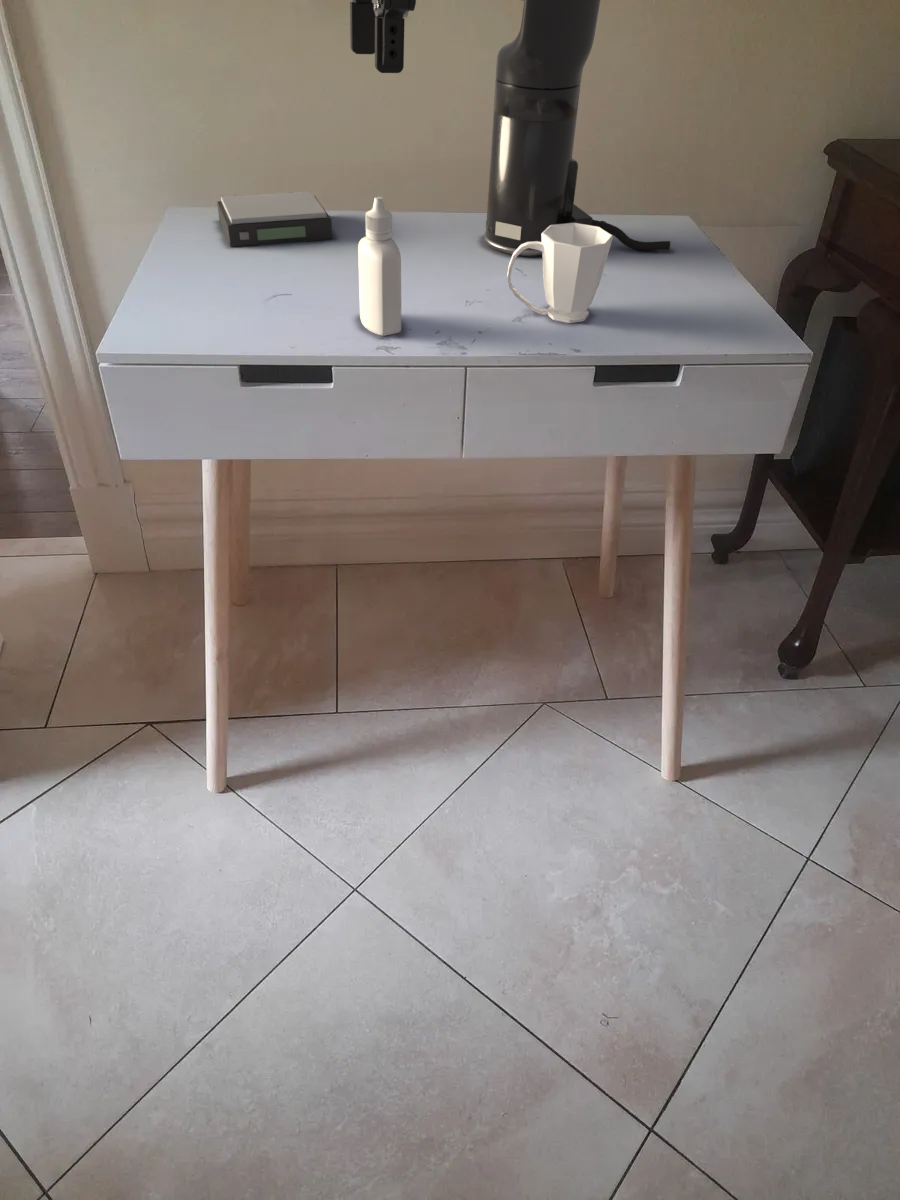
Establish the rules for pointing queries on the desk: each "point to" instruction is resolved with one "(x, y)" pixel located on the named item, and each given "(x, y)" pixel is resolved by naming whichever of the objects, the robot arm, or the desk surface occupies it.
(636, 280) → the desk surface
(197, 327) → the desk surface
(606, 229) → the robot arm
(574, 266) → the cup
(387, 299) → the eye dropper bottle
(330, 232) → the scale
